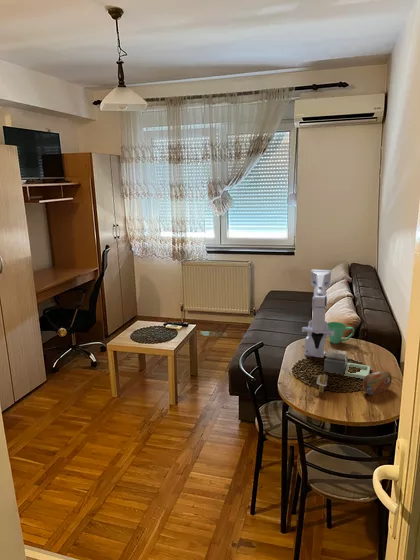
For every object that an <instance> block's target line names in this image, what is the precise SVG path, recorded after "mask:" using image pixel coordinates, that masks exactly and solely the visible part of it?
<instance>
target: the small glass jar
mask: <svg viewBox="0 0 420 560" xmlns="http://www.w3.org/2000/svg"><path fill="white" fill-rule="evenodd" d="M328 376H329V375H328V374H326V373H324V374H321V373H320V375H317V378H316V384H317V385H318V389H319V390H318V392H319V393H324V391H325V387H326V386H327V384H328Z"/></svg>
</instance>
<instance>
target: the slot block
mask: <svg viewBox="0 0 420 560" xmlns="http://www.w3.org/2000/svg"><path fill="white" fill-rule="evenodd" d="M326 358H327V356H326ZM326 358H325V359H324V365H323V372H324V371H327V372H334V373H338V374H344V373H345V370H346V367H347V364H348V355H346V362H342V361H336V360H329V359H326ZM338 374H337V375H338ZM344 375H345V374H344Z"/></svg>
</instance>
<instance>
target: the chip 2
mask: <svg viewBox="0 0 420 560" xmlns="http://www.w3.org/2000/svg"><path fill="white" fill-rule="evenodd" d="M347 352H348V351H345V350H339V349H337V355H336V361H342V362H346V356H348V355H347Z"/></svg>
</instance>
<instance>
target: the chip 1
mask: <svg viewBox="0 0 420 560" xmlns="http://www.w3.org/2000/svg"><path fill="white" fill-rule="evenodd" d="M326 350H327V351H326V357H327V358H325V359H329V360H336V355H337V351H338V349H332V348H328V349H326Z"/></svg>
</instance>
